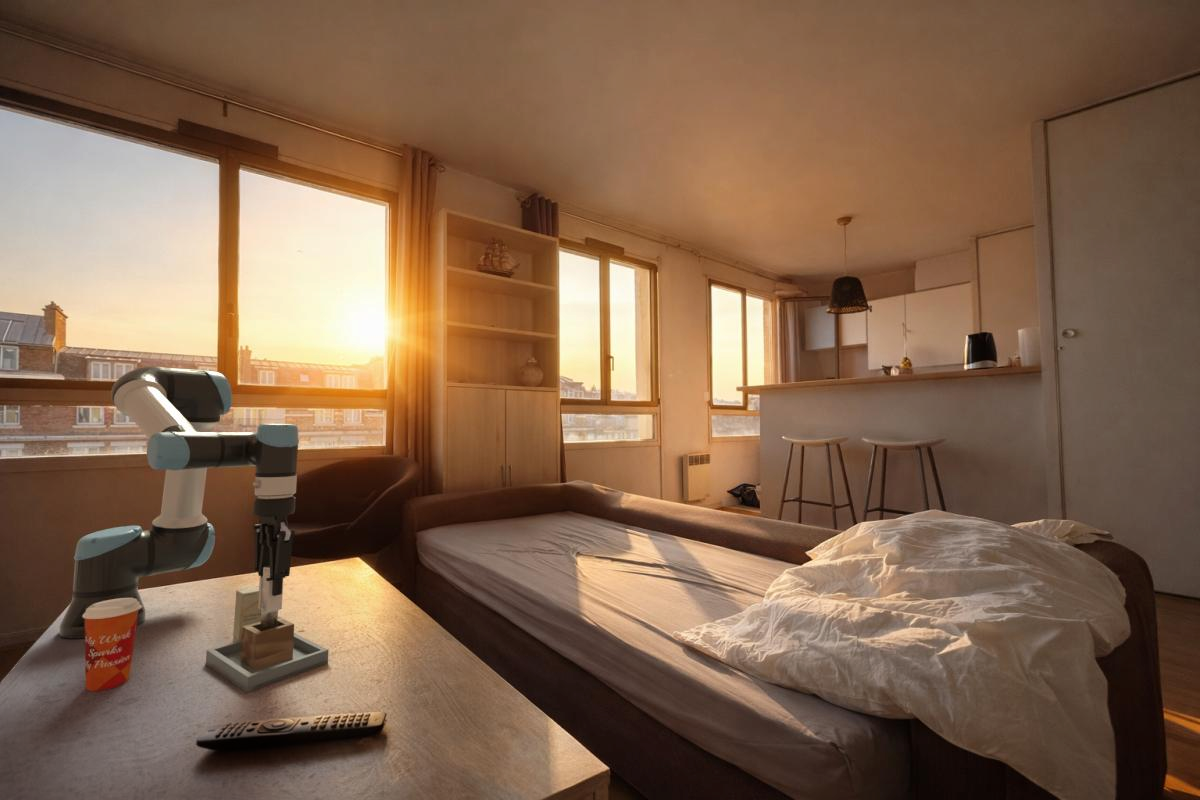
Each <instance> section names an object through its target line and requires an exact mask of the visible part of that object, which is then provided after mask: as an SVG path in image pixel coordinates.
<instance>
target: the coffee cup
mask: <svg viewBox="0 0 1200 800" xmlns="http://www.w3.org/2000/svg"><path fill="white" fill-rule="evenodd" d="M139 603H140V602H138V601H137V599H135V598H118V599H111V600H106V601H102V602H98V603H95V604H92V605H91V606H90V607H88V608H87V609H86V612H85V613H84V614H83V616H82V617H83V618H85V638H84V658H85V659H84V660H85V661H84V664H85V666H84V667H85V669H84V670H85V675H84V676H85V688H86V691H89V692H99V691H101V692H102V691H105V690H110V689H114V688H116V687H119V686H121V685H124V684H125V683H126V682H128V681H129V678H130V674H131V673H130V672H131V668H132V660H133V653H134V646H135V638H136V632H137V626H136V624H137V617H138V610H139V609H140V608H142V606H141V605H140V604H139Z"/></svg>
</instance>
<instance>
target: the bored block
mask: <svg viewBox="0 0 1200 800" xmlns="http://www.w3.org/2000/svg"><path fill="white" fill-rule="evenodd" d="M260 628H261V622H258V623H254V624H250V625H247V626H243V628H242V647H241V662H243V663H245V664H246V665H248V666H249V667H251V668H253V669H254V670H258V669H261V668H264V667H267V666H270V665H273V664H276V663H279V662H282V661H285V660H288V659H291V658H293V641H294V633H295V623H292V622H291V621H288V620H287V619H285V618H283V617H280V616H278V624H277V627H275V628H271V629H268V630H264V631H260Z"/></svg>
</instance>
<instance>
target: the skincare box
mask: <svg viewBox="0 0 1200 800" xmlns="http://www.w3.org/2000/svg"><path fill="white" fill-rule="evenodd" d="M258 602H259V585H258V586H253V587H248V588H242V589H236V591H235V606H234V620H233V634H232V642H236V641H239V640H242V628H243V626H247V625H250V624H254V623H258V622H261V609H259V608H258Z"/></svg>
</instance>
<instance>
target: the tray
mask: <svg viewBox="0 0 1200 800" xmlns="http://www.w3.org/2000/svg"><path fill="white" fill-rule="evenodd" d="M241 647H242V640H239V641H236V642H233V641H231V642H230V643H226V644H222V645H219V646H215V647H212V648H209V649H206V650H205V651H206V654H205V664H206V666H209V667H210V668H211V669H213V670H214V671H215V672H217V673H218V674H219V675H221V676H223V677H224V678H226V679H227V680H228V681H229V682H231V683H233V684H234V685H236V686H237V687H238V688H239V689H241V690H243V691H244V692H246V693H247V694H248V693H250V692H253V691H256V690H258V689H261V688H263V687H266V686H270V685H272V684H274V683H278V682H281V681H283V680H286V679H289V678H291V677H295V676H297V675H299V674H303V673H305V672H308V671H310V670H311V671H312V670H313V669H315V668H318V667H321V666H325V665H327V664H329V649H328V648H326V647H324V646H322V645H320V644H318V643H316V642H314V641H311V640H309V639H307V637H304V636H302V635H299V634H297V633H296V632H294V641H293V658H291V659H288V660H285V661H282V662H279V663H276V664H273V665H270V666H267V667H264V668H261V669H258V670H254V669H253V668H251V667H249V666H248V665H246V664H245V663H243V662H241Z"/></svg>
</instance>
